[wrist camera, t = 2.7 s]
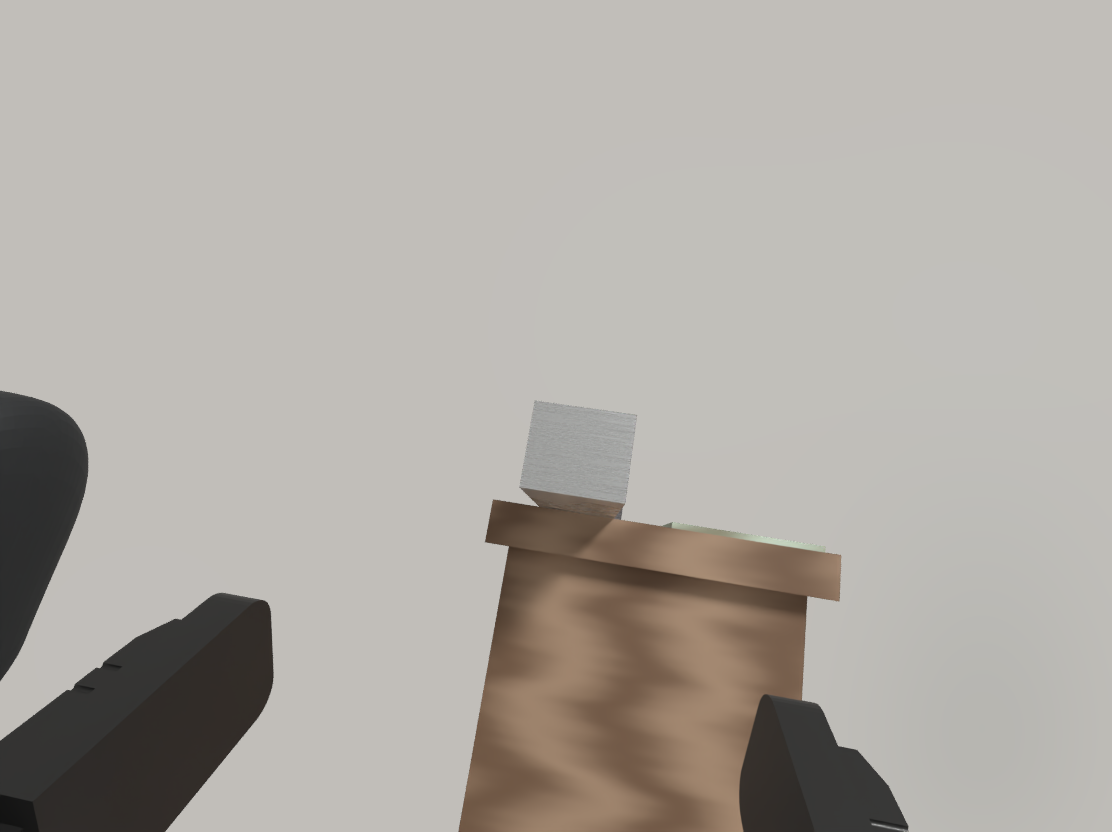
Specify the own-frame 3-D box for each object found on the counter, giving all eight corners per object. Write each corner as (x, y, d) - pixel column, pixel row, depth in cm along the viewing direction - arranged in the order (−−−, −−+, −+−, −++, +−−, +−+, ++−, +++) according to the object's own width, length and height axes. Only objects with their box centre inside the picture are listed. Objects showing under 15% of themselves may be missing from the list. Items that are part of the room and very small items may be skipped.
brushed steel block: (497, 483, 18) (518, 370, 19) (543, 519, 38) (552, 462, 39) (648, 507, 18) (662, 389, 19) (616, 531, 37) (624, 472, 38)
